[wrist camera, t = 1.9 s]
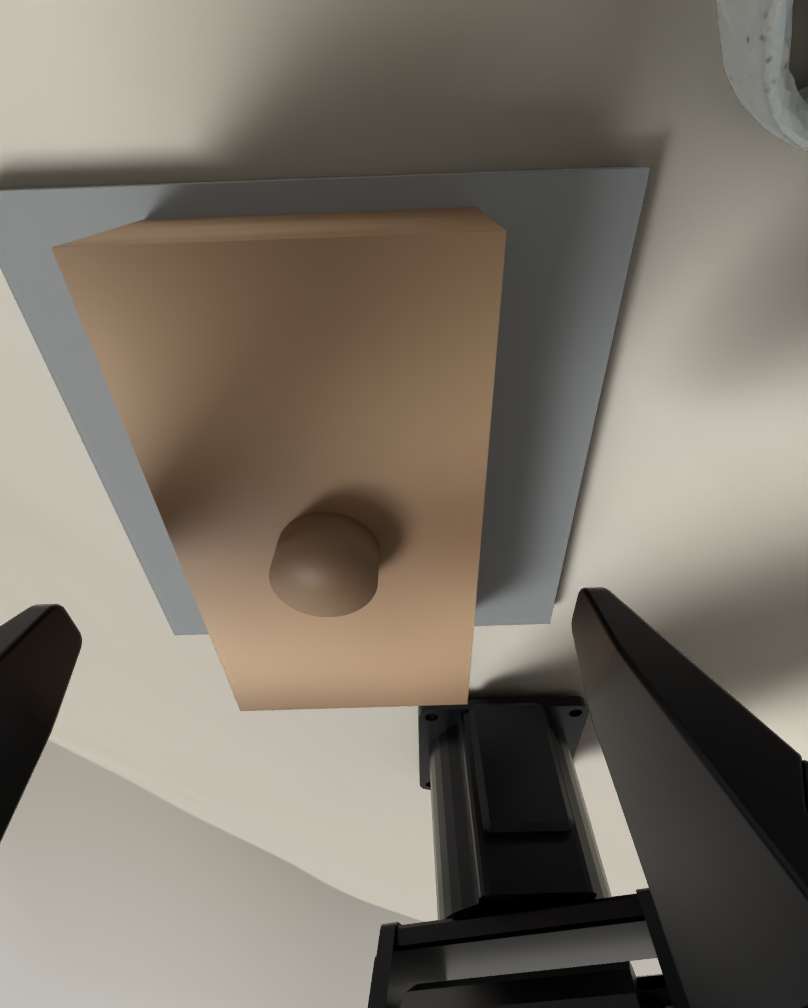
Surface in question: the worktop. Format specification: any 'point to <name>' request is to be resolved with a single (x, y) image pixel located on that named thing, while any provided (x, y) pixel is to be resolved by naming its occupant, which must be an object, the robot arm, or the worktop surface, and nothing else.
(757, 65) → the ceramic mug
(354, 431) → the lid
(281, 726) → the worktop surface
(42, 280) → the mat
